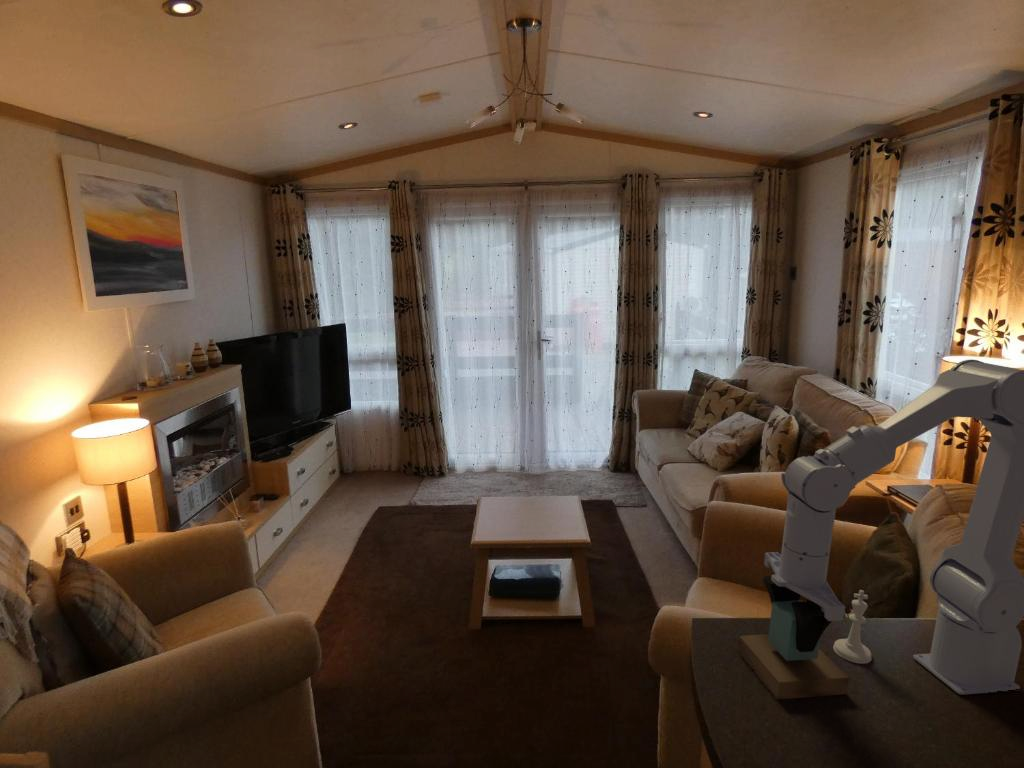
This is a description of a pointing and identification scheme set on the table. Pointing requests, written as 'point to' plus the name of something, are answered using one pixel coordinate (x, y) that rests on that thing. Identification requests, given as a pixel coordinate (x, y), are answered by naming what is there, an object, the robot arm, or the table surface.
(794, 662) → the walnut base
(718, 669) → the table surface
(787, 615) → the teal block
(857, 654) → the chess piece
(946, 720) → the table surface
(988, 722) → the table surface
